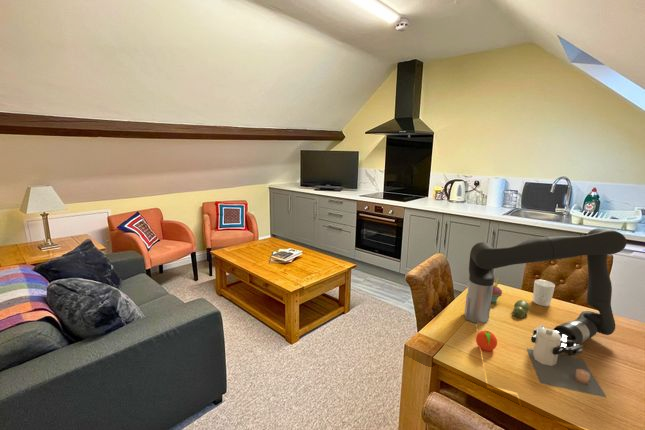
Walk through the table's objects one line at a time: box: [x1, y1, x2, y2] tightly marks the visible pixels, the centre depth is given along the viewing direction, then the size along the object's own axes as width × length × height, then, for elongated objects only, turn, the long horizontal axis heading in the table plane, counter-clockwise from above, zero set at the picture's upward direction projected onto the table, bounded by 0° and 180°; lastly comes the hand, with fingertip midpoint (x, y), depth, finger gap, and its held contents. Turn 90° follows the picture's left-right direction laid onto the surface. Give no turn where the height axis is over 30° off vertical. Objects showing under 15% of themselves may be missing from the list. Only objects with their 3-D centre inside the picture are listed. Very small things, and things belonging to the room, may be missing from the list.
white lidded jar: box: [532, 327, 561, 366], centre depth 110 cm, size 6×6×11 cm
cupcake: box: [491, 277, 503, 303], centre depth 152 cm, size 9×8×12 cm
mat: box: [525, 348, 607, 398], centre depth 106 cm, size 17×18×1 cm
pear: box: [512, 299, 530, 319], centre depth 141 cm, size 6×5×10 cm
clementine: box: [475, 330, 498, 352], centre depth 116 cm, size 8×7×7 cm
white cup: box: [532, 279, 556, 307], centre depth 149 cm, size 8×8×10 cm
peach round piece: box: [575, 369, 590, 385], centre depth 101 cm, size 3×3×3 cm
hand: (543, 345), depth 109 cm, fingers closed on white lidded jar, 6 cm apart
